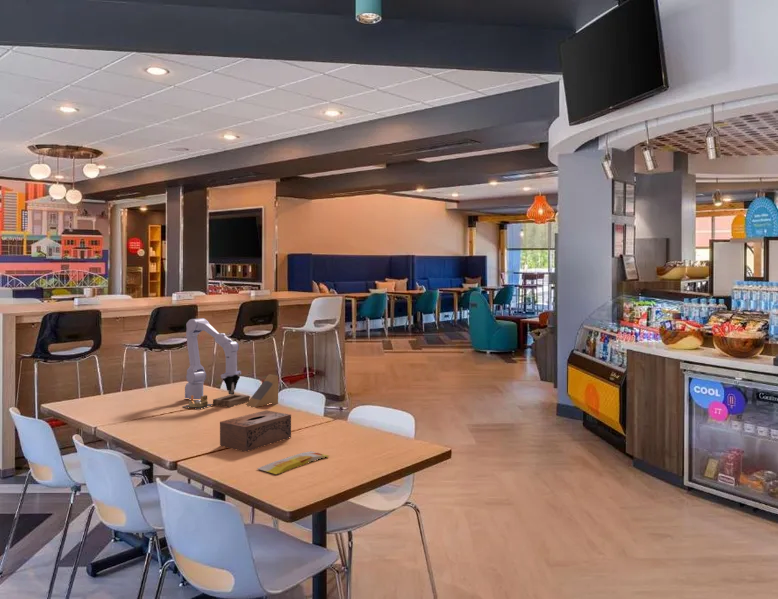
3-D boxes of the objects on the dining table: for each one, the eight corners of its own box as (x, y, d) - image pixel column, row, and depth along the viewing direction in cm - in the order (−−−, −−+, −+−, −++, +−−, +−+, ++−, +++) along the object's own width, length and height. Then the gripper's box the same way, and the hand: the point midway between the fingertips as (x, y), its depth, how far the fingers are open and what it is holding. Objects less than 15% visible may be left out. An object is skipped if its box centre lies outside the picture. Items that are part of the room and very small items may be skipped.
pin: (227, 394, 327) (227, 382, 326) (230, 393, 329) (230, 381, 329) (232, 394, 326) (231, 383, 325) (235, 393, 328) (235, 382, 328)
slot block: (212, 405, 323) (212, 399, 323) (232, 399, 337) (232, 394, 337) (230, 407, 318) (229, 401, 318) (249, 401, 333) (249, 395, 333)
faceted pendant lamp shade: (185, 405, 317) (185, 398, 317) (199, 402, 326) (199, 394, 326) (199, 407, 313) (199, 399, 313) (212, 403, 323) (212, 396, 322)
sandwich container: (244, 405, 323) (244, 377, 322) (269, 401, 334) (268, 373, 333) (253, 408, 317) (253, 379, 316) (278, 403, 328) (278, 375, 327)
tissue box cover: (245, 452, 240) (245, 427, 239) (220, 446, 248) (219, 421, 247) (291, 438, 261) (291, 414, 261) (266, 432, 269) (266, 410, 269)
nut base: (181, 407, 317) (181, 397, 316) (196, 403, 327) (196, 394, 326) (199, 409, 312) (199, 399, 312) (213, 405, 322) (213, 396, 322)
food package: (275, 471, 212) (256, 465, 218) (275, 477, 212) (256, 471, 218) (330, 452, 234) (310, 448, 240) (330, 458, 234) (311, 454, 240)
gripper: (228, 366, 319) (228, 393, 319) (245, 363, 332) (246, 388, 332) (217, 365, 321) (217, 391, 322) (235, 362, 335) (235, 387, 335)
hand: (231, 390), depth 327 cm, fingers closed on pin, 3 cm apart
